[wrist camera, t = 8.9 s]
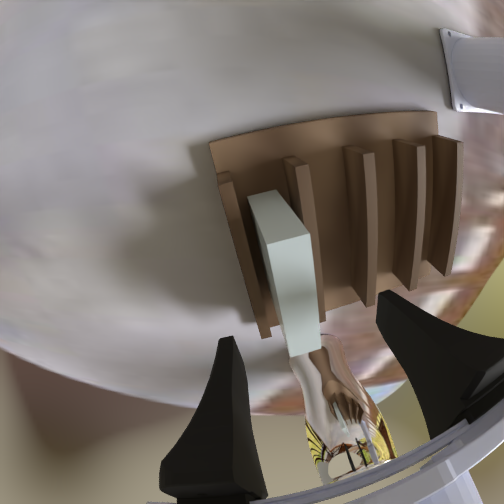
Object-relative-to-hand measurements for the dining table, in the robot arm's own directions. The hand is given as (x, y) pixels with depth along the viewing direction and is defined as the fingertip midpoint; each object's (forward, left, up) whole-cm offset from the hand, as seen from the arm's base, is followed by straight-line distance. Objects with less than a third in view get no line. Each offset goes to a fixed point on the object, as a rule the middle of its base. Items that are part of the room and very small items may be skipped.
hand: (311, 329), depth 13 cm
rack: (-6, 0, -10) cm, 12 cm away
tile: (0, 0, -9) cm, 9 cm away
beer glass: (-2, +15, -10) cm, 18 cm away
